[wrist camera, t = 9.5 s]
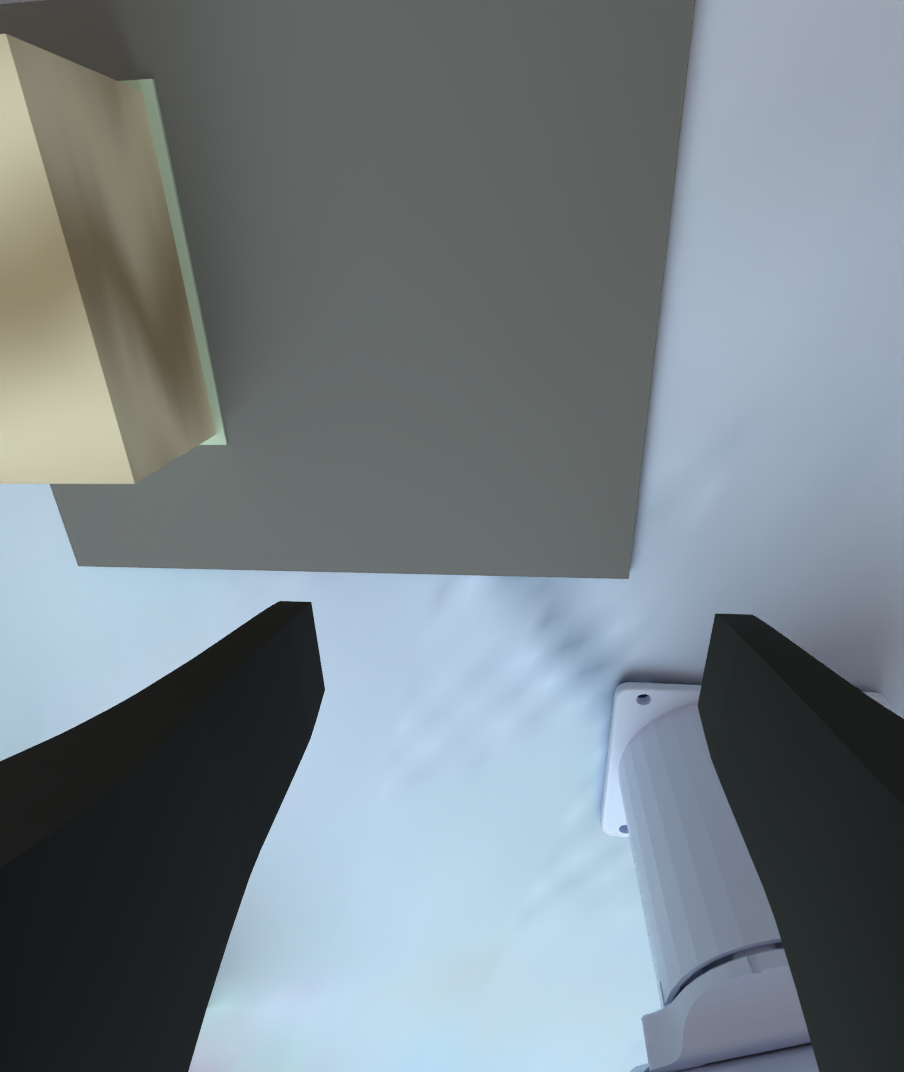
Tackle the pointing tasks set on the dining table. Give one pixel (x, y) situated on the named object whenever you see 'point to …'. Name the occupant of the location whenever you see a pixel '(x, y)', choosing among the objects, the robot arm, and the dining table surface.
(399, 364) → the rubber mat
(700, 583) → the dining table surface
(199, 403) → the maple block
